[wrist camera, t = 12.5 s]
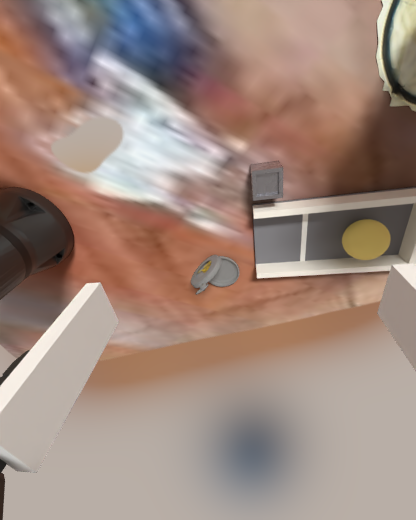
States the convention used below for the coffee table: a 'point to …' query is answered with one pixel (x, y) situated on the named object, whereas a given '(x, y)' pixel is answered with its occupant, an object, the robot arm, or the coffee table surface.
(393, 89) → the decorative vase
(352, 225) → the ball
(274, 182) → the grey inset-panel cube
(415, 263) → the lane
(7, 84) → the coffee table surface
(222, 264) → the pocket watch
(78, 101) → the coffee table surface
